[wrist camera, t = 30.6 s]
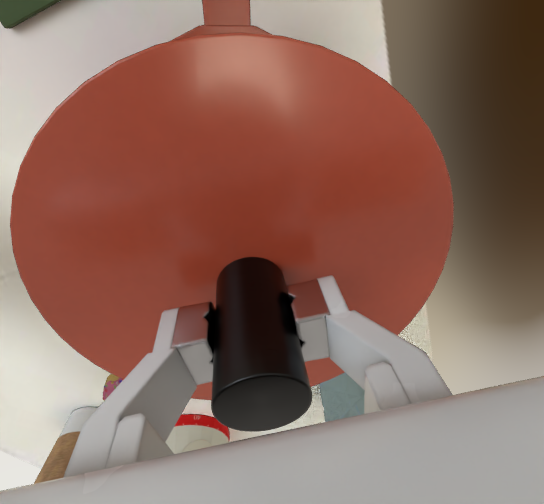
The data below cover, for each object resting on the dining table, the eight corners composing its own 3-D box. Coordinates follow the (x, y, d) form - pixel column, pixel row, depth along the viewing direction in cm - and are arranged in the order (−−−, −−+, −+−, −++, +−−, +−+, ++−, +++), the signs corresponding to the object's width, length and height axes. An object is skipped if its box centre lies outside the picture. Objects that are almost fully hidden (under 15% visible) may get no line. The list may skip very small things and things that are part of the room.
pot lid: (105, 394, 15) (53, 546, 11) (-82, 29, 7) (-653, 7, 2) (388, 365, 17) (450, 488, 12) (503, 36, 9) (824, 30, 4)
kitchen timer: (211, 458, 59) (207, 569, 47) (136, 451, 54) (109, 572, 42) (242, 420, 53) (246, 537, 40) (160, 408, 48) (137, 536, 35)
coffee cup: (47, 411, 45) (-22, 551, 33) (100, 395, 44) (51, 532, 32) (84, 436, 50) (36, 567, 37) (132, 422, 49) (100, 551, 37)
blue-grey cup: (387, 376, 50) (426, 458, 40) (340, 406, 54) (365, 489, 44) (348, 354, 46) (381, 440, 36) (299, 388, 49) (318, 475, 39)
